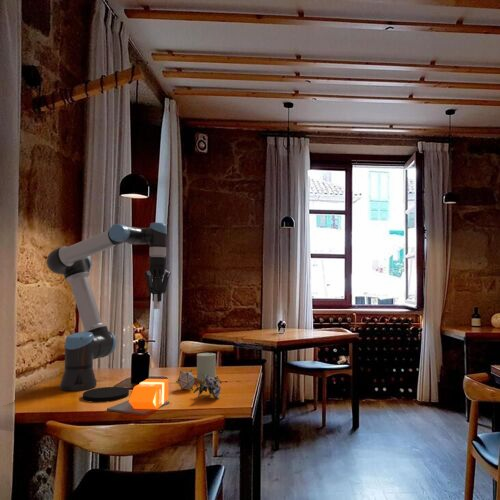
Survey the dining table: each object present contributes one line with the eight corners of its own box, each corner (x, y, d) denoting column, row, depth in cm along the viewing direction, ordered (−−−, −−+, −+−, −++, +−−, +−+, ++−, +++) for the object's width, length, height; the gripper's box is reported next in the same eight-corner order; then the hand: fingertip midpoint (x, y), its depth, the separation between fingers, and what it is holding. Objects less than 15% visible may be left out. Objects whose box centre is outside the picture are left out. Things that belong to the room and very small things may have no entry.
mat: (107, 410, 161) (107, 408, 161) (134, 399, 175) (134, 397, 175) (144, 415, 154) (144, 413, 154) (169, 403, 169) (169, 401, 169)
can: (219, 378, 213) (219, 352, 214) (208, 381, 205) (208, 355, 206) (204, 376, 218) (204, 351, 219) (192, 379, 210) (192, 353, 211)
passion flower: (217, 412, 175) (221, 391, 169) (189, 408, 175) (193, 387, 169) (219, 390, 185) (224, 370, 179) (194, 386, 184) (197, 365, 178)
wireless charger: (72, 400, 176) (72, 395, 176) (104, 390, 192) (104, 385, 192) (108, 405, 169) (108, 399, 169) (137, 394, 185) (137, 389, 185)
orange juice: (168, 399, 173) (152, 413, 153) (146, 398, 174) (127, 413, 154) (168, 378, 174) (153, 390, 154) (146, 378, 175) (128, 390, 155)
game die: (188, 399, 189) (191, 383, 184) (171, 391, 191) (173, 375, 185) (198, 385, 196) (201, 369, 191) (181, 377, 198) (183, 361, 193)
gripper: (174, 257, 204) (173, 308, 202) (150, 257, 209) (149, 307, 207) (165, 256, 197) (164, 309, 195) (141, 256, 202) (139, 308, 200)
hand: (156, 308), depth 201 cm, fingers closed
